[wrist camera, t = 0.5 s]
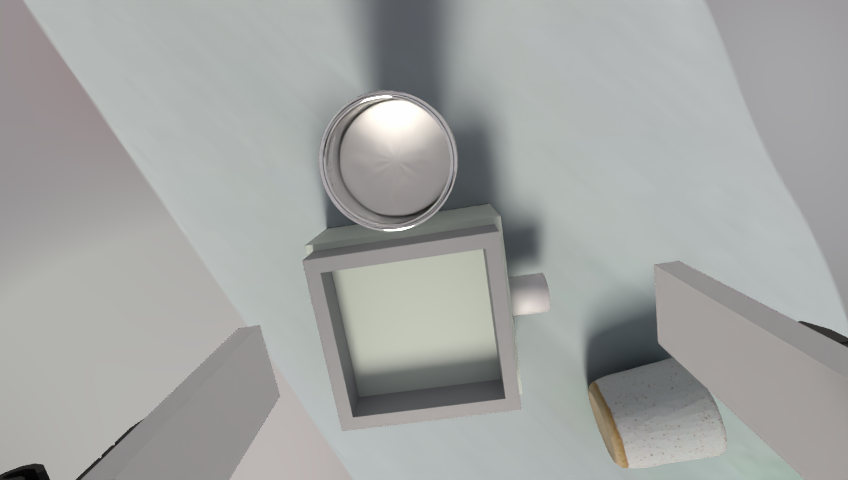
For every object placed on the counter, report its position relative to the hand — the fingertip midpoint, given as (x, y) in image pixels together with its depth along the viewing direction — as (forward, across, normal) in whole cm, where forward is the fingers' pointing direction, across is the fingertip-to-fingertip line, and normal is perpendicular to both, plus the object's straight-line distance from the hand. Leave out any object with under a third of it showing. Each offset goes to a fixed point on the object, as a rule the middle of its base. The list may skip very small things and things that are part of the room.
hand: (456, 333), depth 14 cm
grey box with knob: (+22, -2, -7) cm, 23 cm away
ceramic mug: (+22, +15, -20) cm, 33 cm away
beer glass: (+22, -2, +5) cm, 23 cm away
